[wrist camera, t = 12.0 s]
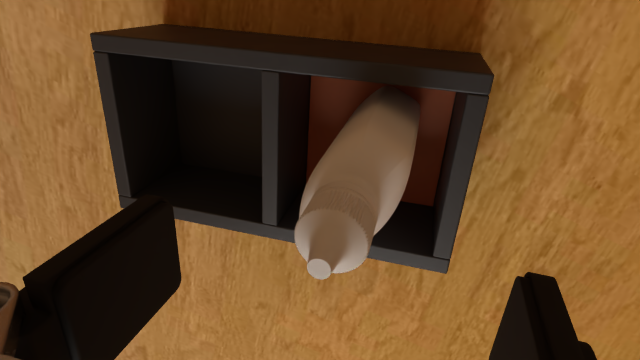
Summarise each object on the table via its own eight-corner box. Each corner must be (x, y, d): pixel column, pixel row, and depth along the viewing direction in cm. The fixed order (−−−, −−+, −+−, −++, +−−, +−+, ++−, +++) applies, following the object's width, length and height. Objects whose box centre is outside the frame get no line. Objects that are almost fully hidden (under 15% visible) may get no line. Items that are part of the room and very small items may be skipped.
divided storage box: (162, 23, 23) (88, 32, 18) (481, 53, 20) (494, 74, 15) (177, 168, 27) (120, 208, 22) (445, 215, 24) (447, 274, 19)
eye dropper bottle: (444, 147, 21) (449, 300, 11) (352, 189, 24) (283, 348, 13) (404, 72, 20) (367, 161, 10) (313, 124, 23) (203, 241, 12)
